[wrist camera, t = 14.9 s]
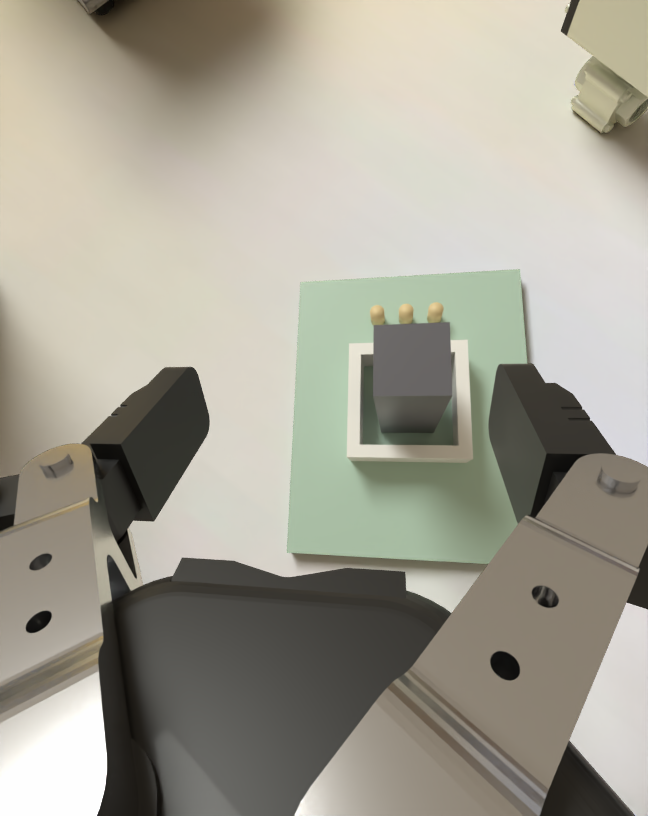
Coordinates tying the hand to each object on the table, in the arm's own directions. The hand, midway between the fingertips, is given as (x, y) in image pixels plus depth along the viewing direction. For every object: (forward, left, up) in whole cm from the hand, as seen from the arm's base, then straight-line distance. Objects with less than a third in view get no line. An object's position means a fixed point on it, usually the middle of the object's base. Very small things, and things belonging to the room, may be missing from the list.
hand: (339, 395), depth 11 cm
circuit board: (+4, +1, -19) cm, 19 cm away
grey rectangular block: (+4, +1, -18) cm, 18 cm away
